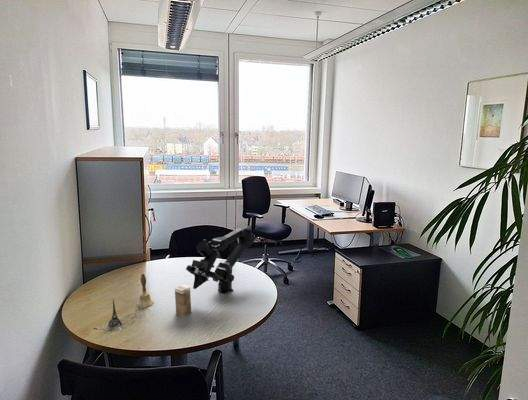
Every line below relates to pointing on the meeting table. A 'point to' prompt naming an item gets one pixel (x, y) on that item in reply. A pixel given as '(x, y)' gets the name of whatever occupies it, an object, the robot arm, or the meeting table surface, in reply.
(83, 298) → the meeting table surface
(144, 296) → the hand bell
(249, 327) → the meeting table surface
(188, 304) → the wooden block
